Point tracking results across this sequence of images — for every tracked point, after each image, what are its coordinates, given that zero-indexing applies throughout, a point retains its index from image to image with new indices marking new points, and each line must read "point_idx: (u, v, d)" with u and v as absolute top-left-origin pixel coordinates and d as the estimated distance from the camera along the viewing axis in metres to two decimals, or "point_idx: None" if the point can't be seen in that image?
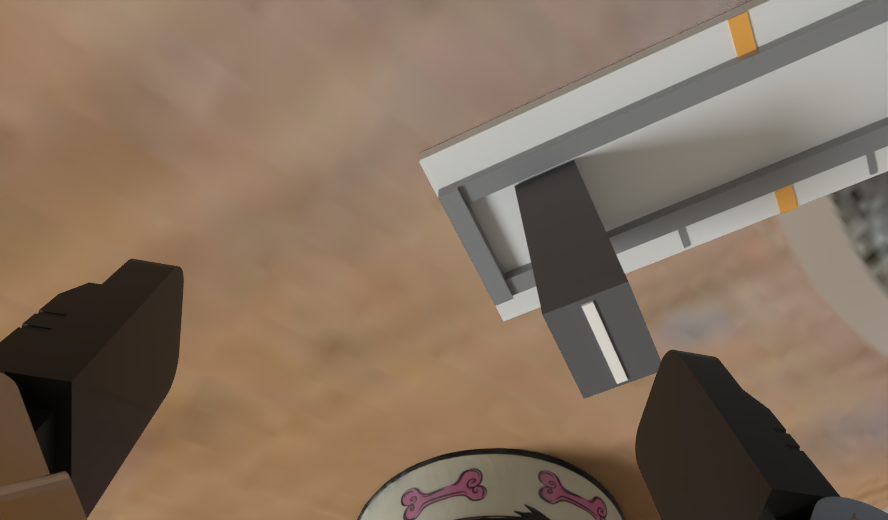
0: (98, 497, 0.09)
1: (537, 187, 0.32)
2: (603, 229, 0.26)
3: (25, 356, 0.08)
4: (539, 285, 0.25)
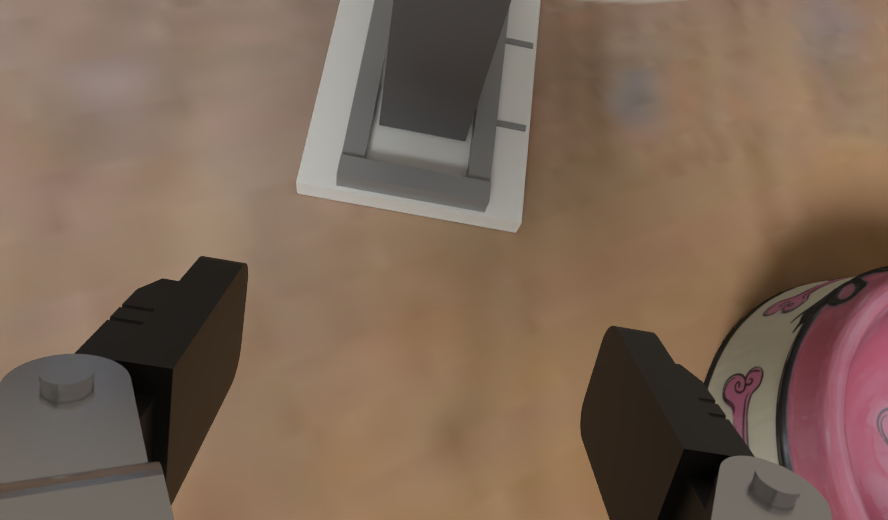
0: (182, 479, 0.09)
1: None
2: None
3: (127, 345, 0.08)
4: None
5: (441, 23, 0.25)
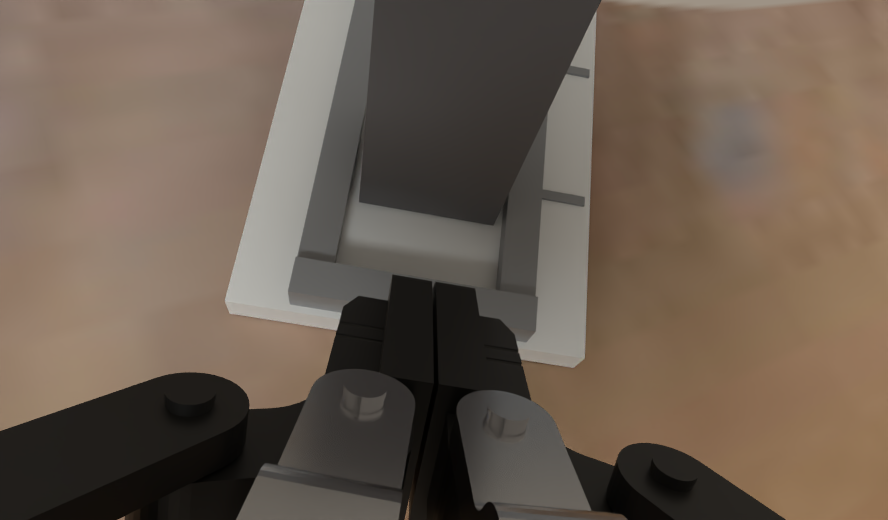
0: None
1: None
2: None
3: (385, 362, 0.09)
4: None
5: (462, 49, 0.14)
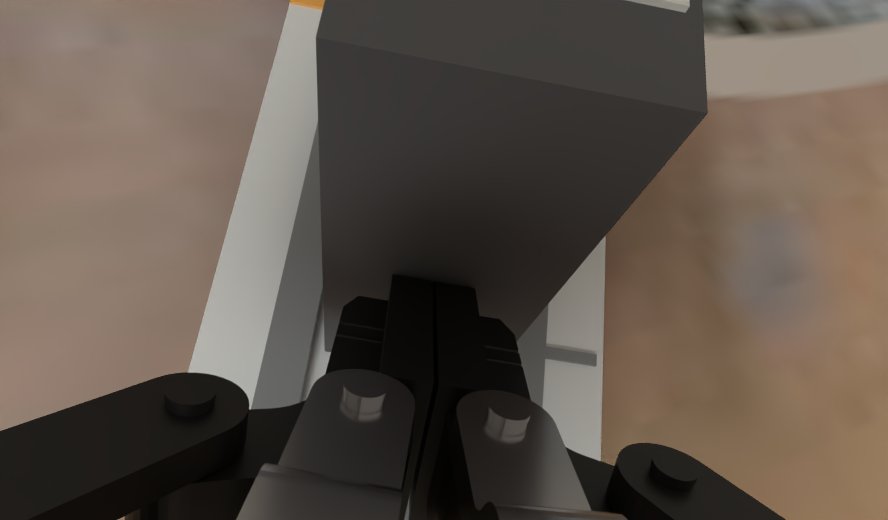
0: None
1: None
2: None
3: (385, 362, 0.09)
4: None
5: (442, 238, 0.10)
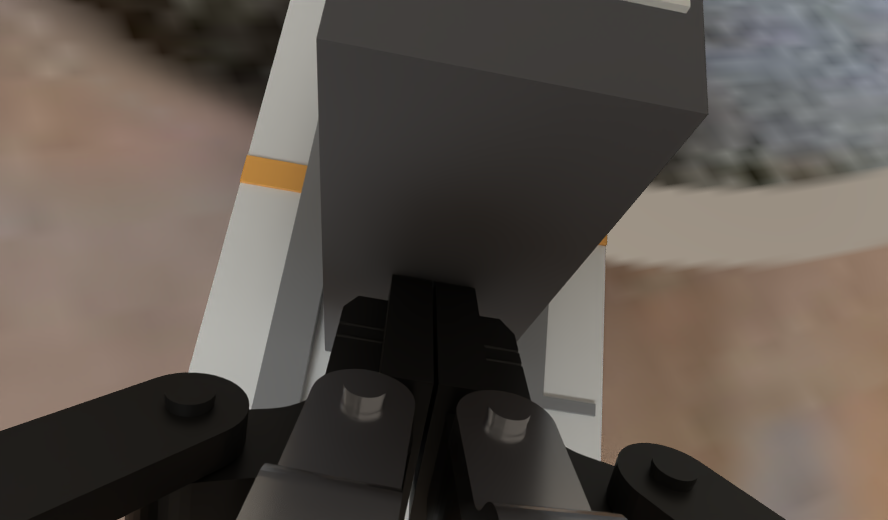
0: None
1: None
2: None
3: (385, 362, 0.09)
4: None
5: (442, 238, 0.10)
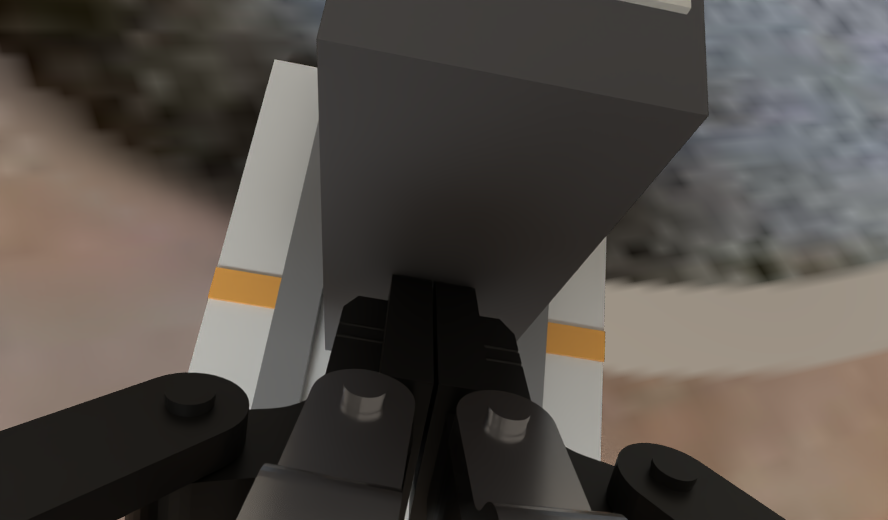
0: None
1: None
2: None
3: (385, 362, 0.09)
4: None
5: (442, 238, 0.10)
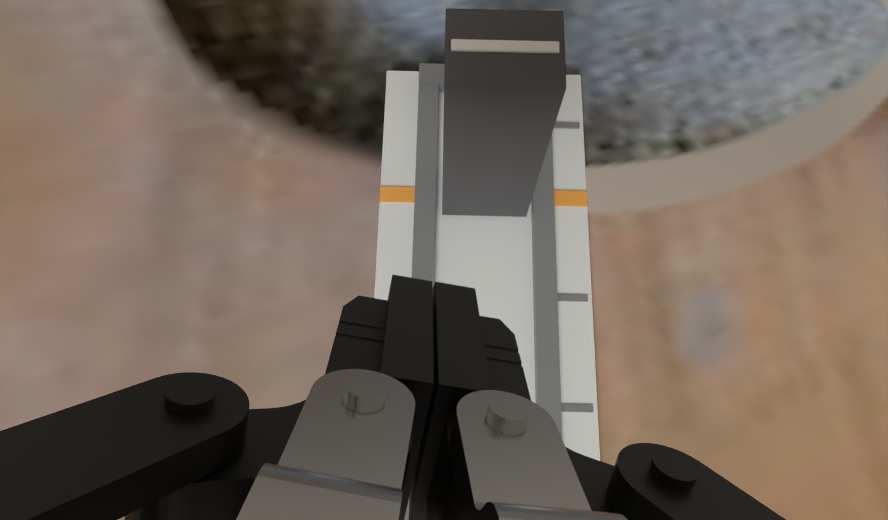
0: None
1: None
2: None
3: (385, 362, 0.09)
4: None
5: (491, 143, 0.27)
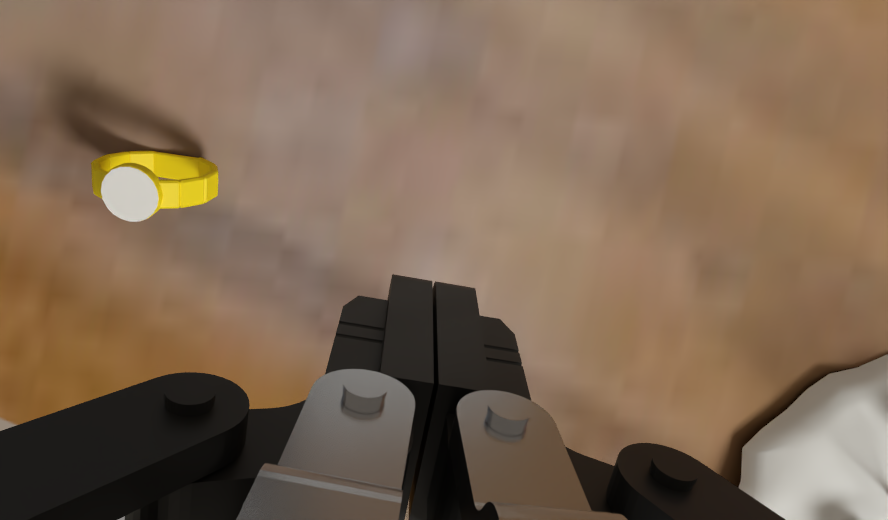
0: None
1: None
2: None
3: (385, 362, 0.09)
4: None
5: None
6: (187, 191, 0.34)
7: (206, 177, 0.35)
